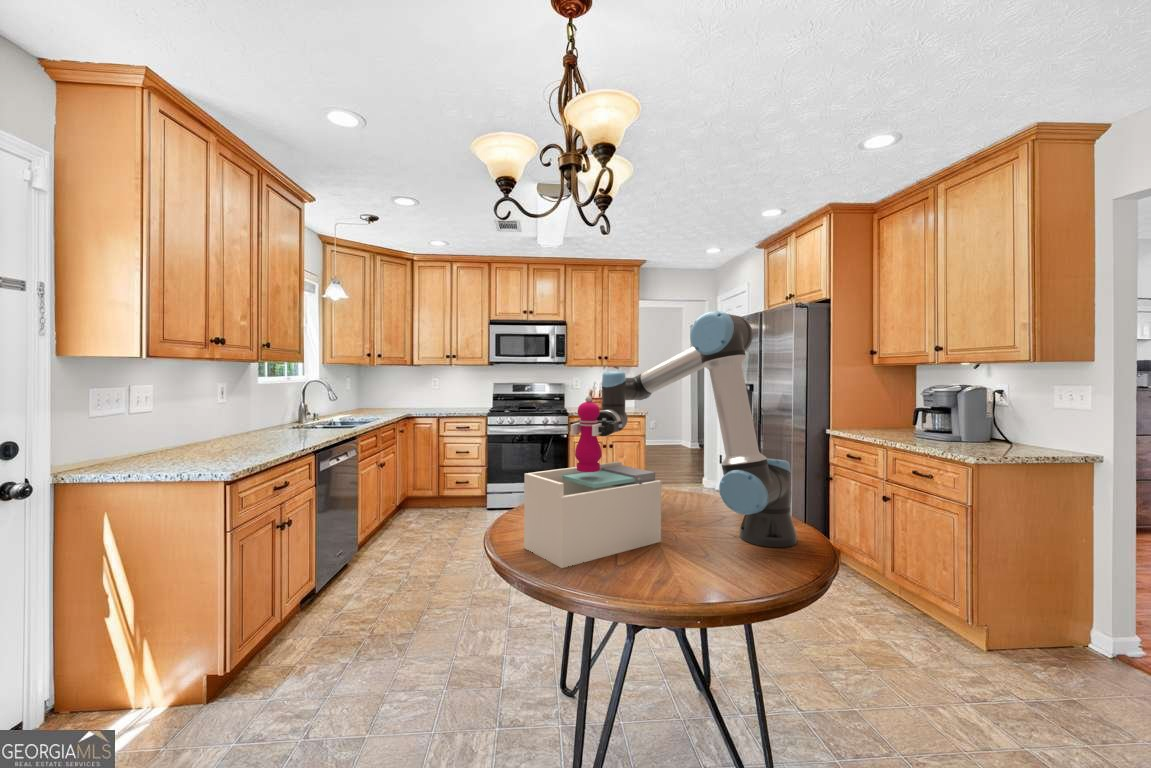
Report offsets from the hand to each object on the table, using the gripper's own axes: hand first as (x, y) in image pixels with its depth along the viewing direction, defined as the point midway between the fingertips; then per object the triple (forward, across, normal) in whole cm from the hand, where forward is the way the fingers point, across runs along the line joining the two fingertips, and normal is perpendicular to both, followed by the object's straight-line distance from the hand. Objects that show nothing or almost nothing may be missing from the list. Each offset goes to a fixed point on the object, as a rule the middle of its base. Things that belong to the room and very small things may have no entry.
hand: (582, 430), depth 132 cm
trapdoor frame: (-7, -1, -32) cm, 33 cm away
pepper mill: (-5, 0, -12) cm, 13 cm away
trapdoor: (-11, -4, -17) cm, 21 cm away
